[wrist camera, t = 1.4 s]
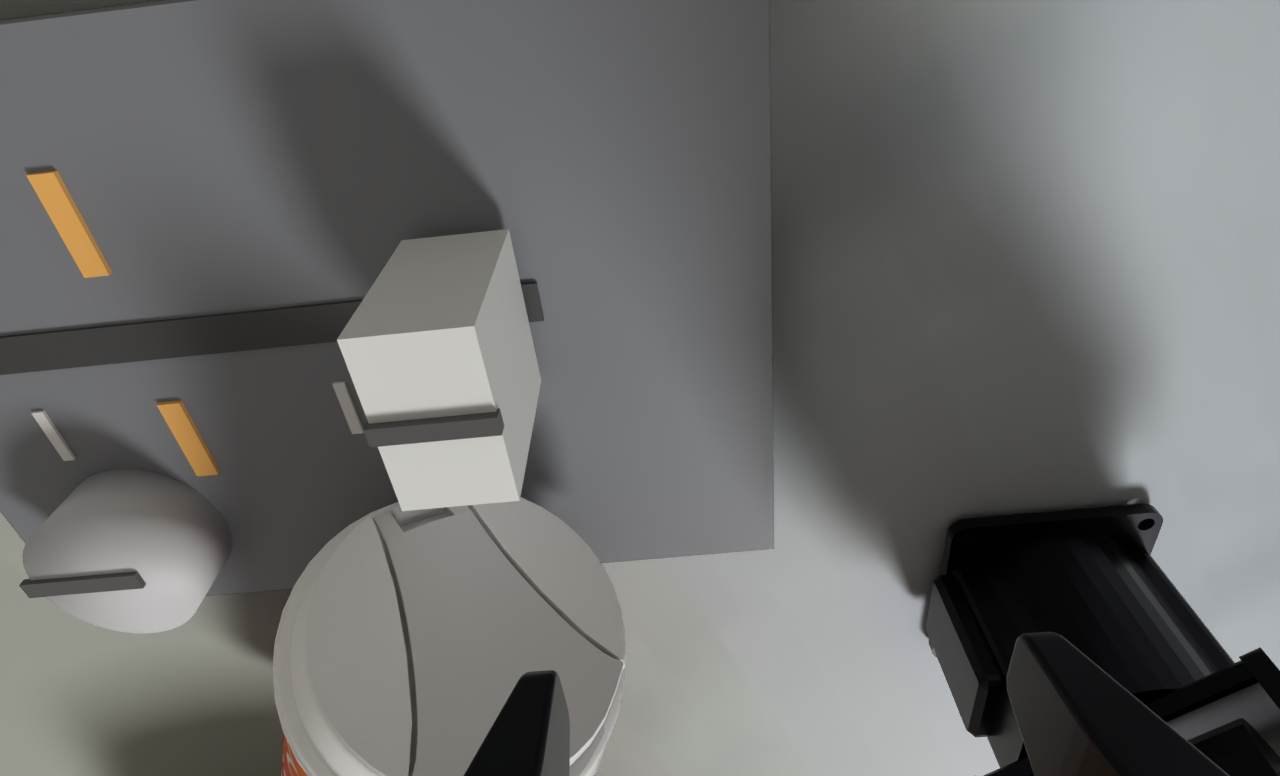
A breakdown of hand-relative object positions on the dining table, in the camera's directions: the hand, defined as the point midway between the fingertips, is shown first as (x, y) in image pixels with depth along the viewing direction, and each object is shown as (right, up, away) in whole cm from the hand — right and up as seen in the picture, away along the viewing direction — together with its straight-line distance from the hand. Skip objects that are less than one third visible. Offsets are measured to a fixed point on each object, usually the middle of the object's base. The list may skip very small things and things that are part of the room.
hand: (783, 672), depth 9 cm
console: (-9, +5, +11) cm, 15 cm away
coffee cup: (-11, -11, +18) cm, 24 cm away
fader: (-6, +5, +9) cm, 11 cm away
